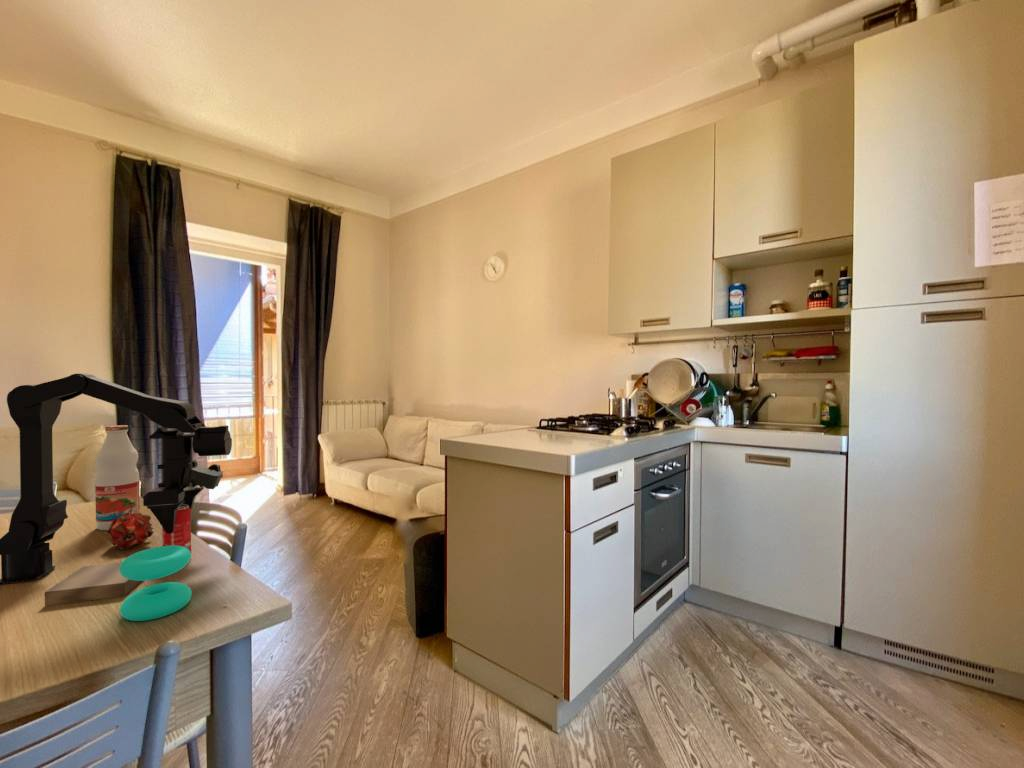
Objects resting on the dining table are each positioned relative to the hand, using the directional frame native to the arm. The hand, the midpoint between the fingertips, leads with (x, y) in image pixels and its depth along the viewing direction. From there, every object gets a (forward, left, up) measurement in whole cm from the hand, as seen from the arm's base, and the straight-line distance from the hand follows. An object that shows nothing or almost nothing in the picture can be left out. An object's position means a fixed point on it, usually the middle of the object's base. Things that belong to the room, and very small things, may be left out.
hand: (178, 526), depth 103 cm
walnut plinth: (-9, -11, -8) cm, 16 cm away
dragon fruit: (-15, +15, -8) cm, 23 cm away
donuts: (+5, -25, -8) cm, 27 cm away
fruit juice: (-26, +35, -8) cm, 44 cm away
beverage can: (0, 0, -8) cm, 8 cm away
